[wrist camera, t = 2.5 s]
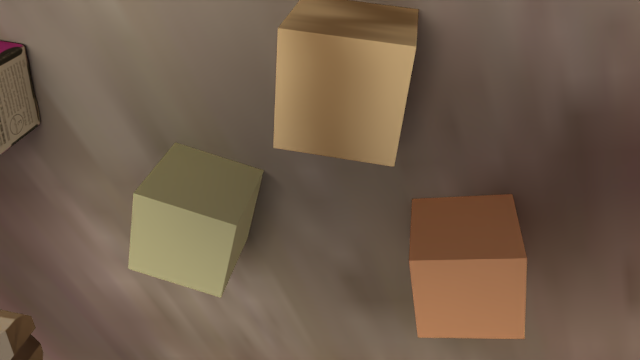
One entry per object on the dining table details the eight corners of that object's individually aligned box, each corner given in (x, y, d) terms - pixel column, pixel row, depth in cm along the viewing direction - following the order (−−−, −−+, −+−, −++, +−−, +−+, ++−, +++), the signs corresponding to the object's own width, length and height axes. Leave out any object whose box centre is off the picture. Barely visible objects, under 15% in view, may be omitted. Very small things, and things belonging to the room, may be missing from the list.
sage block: (264, 169, 29) (236, 225, 25) (247, 237, 32) (220, 297, 27) (175, 141, 29) (133, 193, 25) (167, 211, 32) (128, 268, 27)
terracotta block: (512, 193, 27) (527, 258, 23) (511, 268, 29) (524, 338, 25) (412, 198, 28) (409, 260, 24) (419, 269, 31) (417, 337, 26)
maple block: (418, 8, 23) (416, 46, 19) (399, 113, 26) (393, 166, 21) (304, -7, 23) (277, 28, 19) (297, 98, 26) (273, 147, 22)
